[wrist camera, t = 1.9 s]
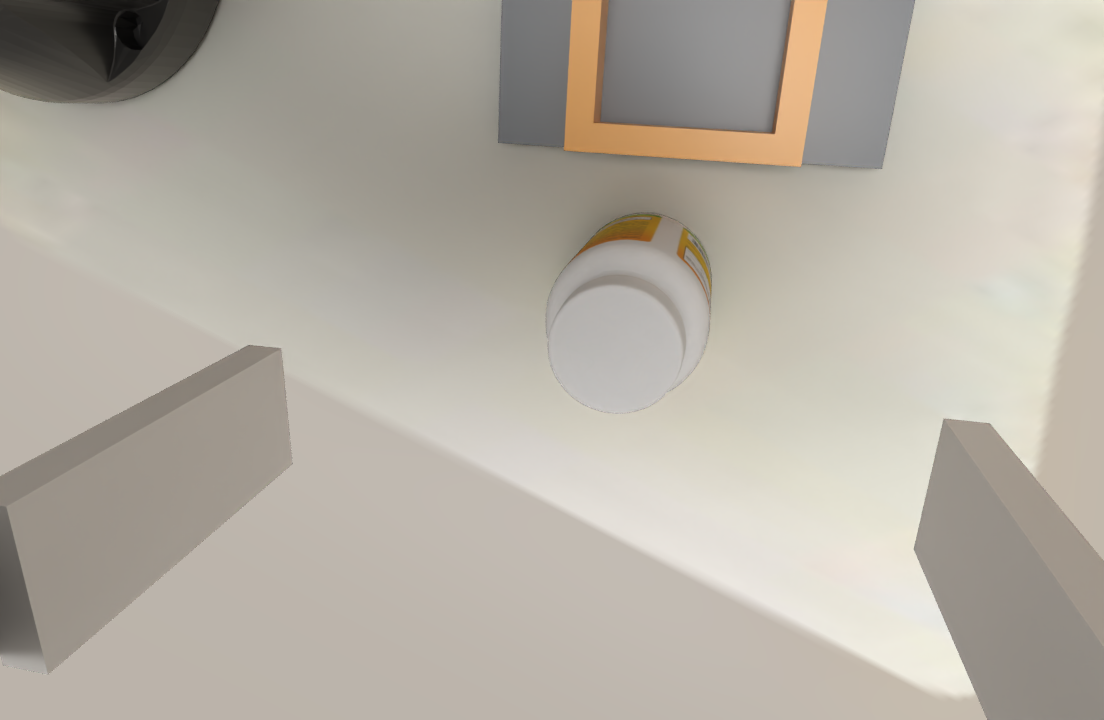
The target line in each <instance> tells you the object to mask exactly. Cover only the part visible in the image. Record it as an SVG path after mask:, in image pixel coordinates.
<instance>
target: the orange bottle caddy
mask: <svg viewBox="0 0 1104 720" xmlns="http://www.w3.org/2000/svg"><path fill="white" fill-rule="evenodd" d="M914 3H915V0H502V15H501V55H500V94H499V133H498V143H508V144H523V145H537V146H552V147H564V151H578V152H592V153H607V154H621V155H636V156H650V157H665V158H679V159H694V160H708V161H723V162H737V163H752V164H766V165H781V166H795V167H801V164H816V165H831V166H845V167H860V168H875V169H882V166H883V161H884V155H885V150H886V145H887V140H888V135H889V130H890V125H891V120H892V115H893V110H894V105H895V99H896V94H897V89H898V84H899V79H900V74H901V69H902V64H903V59H904V54H905V49H906V43H907V38H908V33H909V28H910V23H911V18H912V13H913V8H914Z"/></svg>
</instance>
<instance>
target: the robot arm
mask: <svg viewBox="0 0 1104 720" xmlns="http://www.w3.org/2000/svg"><path fill="white" fill-rule="evenodd" d="M217 3H218V0H0V90H3V91H6V92H8V93H11V94H14V95H17V96H21V97H24V98H29V99H34V100H40V101H45V102H54V103H107V102H116V101H122V100H126V99H129V98H133V97H136V96H138V95H141V94H143V93H145V92H147V91H149V90H151V89H153V88H155V87H156V86H158V85H160V84H161V83H163V82H164V81H165V80H167V79H168V78H169V77H171V76H172V75H173V74H174V73H175V72H176V71H177V70H178V69H179V68H180V67H181V66H182V65H183V64H184V63H185V62H186V61H187V60H188V58H189V57H190V56H191V54H192V53H193V52H194V50H195V49H196V47H197V46H198V44H199V43H200V41H201V39H202V38H203V36H204V34H205V32H206V30H207V28H208V26H209V24H210V22H211V19H212V17H213V14H214V12H215V9H216V6H217ZM291 465H292V455H291V443H290V433H289V423H288V412H287V402H286V391H285V381H284V371H283V360H282V350H281V348H272V347H263V346H253V345H248V346H246V347H244V348H242V349H240V350H238V351H237V352H235V353H233V354H231V355H229V356H227V357H225V358H223V359H222V360H220V361H218V362H216V363H214V364H212V365H210V366H208V367H206V368H204V369H202V370H201V371H199V372H197V373H195V374H193V375H191V376H189V377H187V378H186V379H184V380H182V381H180V382H178V383H176V384H174V385H172V386H170V387H168V388H166V389H165V390H163V391H161V392H159V393H157V394H155V395H153V396H151V397H149V398H148V399H146V400H144V401H142V402H140V403H138V404H136V405H134V406H132V407H130V408H129V409H127V410H125V411H123V412H121V413H119V414H117V415H115V416H113V417H112V418H110V419H108V420H106V421H104V422H102V423H100V424H98V425H96V426H94V427H93V428H91V429H89V430H87V431H85V432H83V433H81V434H79V435H78V436H76V437H74V438H72V439H70V440H68V441H66V442H64V443H62V444H60V445H59V446H57V447H55V448H53V449H51V450H49V451H47V452H45V453H44V454H41V455H40V456H38V457H36V458H34V459H32V460H30V461H28V462H26V463H25V464H23V465H21V466H19V467H17V468H15V469H13V470H11V471H9V472H7V473H5V474H4V475H2V476H0V656H1V660H2V664H3V665H4V666H8V667H14V668H18V669H23V670H28V671H33V672H38V673H42V674H47V675H48V674H49V673H50V672H51V671H53V670H54V669H55V668H56V667H58V666H59V665H60V664H61V663H62V662H63V661H64V660H66V659H67V658H68V657H69V656H70V655H71V654H73V653H74V652H75V651H76V650H77V649H78V648H80V647H81V646H82V645H83V644H84V643H85V642H86V641H88V640H89V639H90V638H91V637H92V636H93V635H95V634H96V633H97V632H98V631H99V630H100V629H102V628H103V627H104V626H105V625H106V624H107V623H109V622H110V621H111V620H112V619H113V618H114V617H115V616H117V615H118V614H119V613H120V612H121V611H123V610H124V609H125V608H126V607H127V606H128V605H129V604H131V603H132V602H133V601H134V600H135V599H136V598H137V597H139V596H140V595H141V594H142V593H143V592H145V591H146V590H147V589H148V588H149V587H150V586H152V585H153V584H154V583H155V582H156V581H157V580H159V579H160V578H161V577H162V576H163V575H164V574H165V573H167V572H168V571H169V570H170V569H171V568H172V567H174V566H175V565H176V564H177V563H178V562H179V561H181V560H182V559H183V558H184V557H185V556H186V555H188V554H189V553H190V552H191V551H192V550H193V549H194V548H196V547H197V546H198V545H199V544H200V543H201V542H203V541H204V540H205V539H206V538H207V537H208V536H210V535H211V534H212V533H213V532H214V531H215V530H217V529H218V528H219V527H220V526H221V525H222V524H223V523H224V522H226V521H227V520H228V519H229V518H230V517H232V516H233V515H234V514H235V513H236V512H237V511H239V510H240V509H241V508H242V507H243V506H244V505H246V504H247V503H248V502H249V501H250V500H251V499H253V498H254V497H255V496H256V495H257V494H258V493H259V492H261V491H262V490H263V489H264V488H265V487H266V486H268V485H269V484H270V483H271V482H272V481H273V480H275V478H277V477H278V476H279V475H280V474H282V473H283V472H284V471H285V470H286V469H287V468H289V467H290V466H291ZM914 551H915V553H916V555H917V558H918V560H919V562H920V565H921V567H922V569H923V572H924V574H925V576H926V579H927V581H928V583H929V586H930V588H931V590H932V593H933V595H934V597H935V600H936V602H937V604H938V606H939V609H940V611H941V613H942V616H943V618H944V620H945V623H946V625H947V627H948V630H949V632H950V634H951V637H952V639H953V641H954V644H955V646H956V648H957V651H958V653H959V655H960V657H961V660H962V662H963V664H964V667H965V669H966V671H967V674H968V676H969V678H970V681H971V683H972V685H973V688H974V690H975V692H976V695H977V697H978V699H979V701H980V704H981V706H982V708H983V711H984V713H985V715H986V718H987V720H1104V561H1103V559H1102V558H1101V557H1100V556H1099V555H1098V553H1097V552H1096V551H1095V550H1094V548H1093V547H1092V546H1091V545H1090V544H1089V542H1088V541H1087V540H1086V539H1085V538H1084V536H1083V535H1082V534H1081V533H1080V532H1079V530H1078V529H1077V528H1076V527H1075V526H1074V524H1073V523H1072V522H1071V521H1070V520H1069V518H1068V517H1067V516H1066V515H1065V514H1064V512H1063V511H1062V510H1061V509H1060V508H1059V506H1058V505H1057V504H1056V503H1055V502H1054V500H1053V499H1052V498H1051V497H1050V495H1049V494H1048V493H1047V492H1046V491H1045V490H1044V488H1043V487H1042V486H1041V485H1040V483H1039V482H1038V481H1037V480H1036V479H1035V477H1034V476H1033V475H1032V474H1031V473H1030V471H1029V470H1028V469H1027V468H1026V467H1025V465H1024V464H1023V463H1022V462H1021V460H1020V459H1019V458H1018V457H1017V456H1016V454H1015V453H1014V452H1013V451H1012V450H1011V448H1010V447H1009V446H1008V445H1007V444H1006V442H1005V441H1004V440H1003V439H1002V438H1001V436H1000V435H999V434H998V433H997V432H996V430H995V429H994V428H993V427H992V426H991V424H990V423H980V422H971V421H962V420H952V419H944V420H943V424H942V428H941V433H940V437H939V441H938V446H937V450H936V454H935V459H934V463H933V467H932V472H931V476H930V480H929V485H928V489H927V494H926V498H925V502H924V507H923V511H922V515H921V520H920V524H919V528H918V533H917V537H916V541H915V546H914Z"/></svg>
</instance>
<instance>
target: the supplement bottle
mask: <svg viewBox="0 0 1104 720" xmlns="http://www.w3.org/2000/svg"><path fill="white" fill-rule="evenodd" d="M711 286H712V279H711V269H710V264H709V260H708V257H707V254H706V252H705V250H704V248H703V246H702V245H701V243H700V242H699V240H698V239H697V238H696V236H695V235H694V234H693V233H692V232H691V231H690V230H689V229H688V228H686V227H685V226H684V225H682V224H681V223H679V222H677V221H676V220H673V219H671V218H669V217H666V216H662V215H658V214H650V213H638V214H631V215H627V216H624V217H621V218H618V219H616V220H614V221H612V222H610V223H609V224H607V225H606V226H604V227H603V228H601V229H600V230H599V231H598V232H597V233H596V234H595V235H594V236H593V237H592V238H591V239H590V240H589V242H588V243H587V244H586V245H585V246H584V247H583V248H582V249H581V250H580V251H579V253H578V254H577V255H576V256H575V257H574V258H573V259H572V260H571V261H570V262H569V263H568V265H567V266H566V267H565V268H564V269H563V271H562V272H561V273H560V275H559V276H558V278H557V280H556V282H555V283H554V285H553V287H552V289H551V292H550V295H549V298H548V302H547V307H546V333H547V338H548V355H549V360H550V364H551V367H552V370H553V372H554V374H555V376H556V378H557V380H558V381H559V383H560V384H561V386H562V387H563V388H564V389H565V390H566V391H567V392H568V393H569V394H570V395H571V396H572V397H573V398H574V399H576V400H577V401H579V402H580V403H582V404H583V405H585V406H587V407H590V408H592V409H595V410H598V411H601V412H607V413H616V414H619V413H630V412H635V411H638V410H641V409H644V408H647V407H649V406H651V405H652V404H654V403H656V402H657V401H658V400H660V399H661V398H662V397H663V396H664V395H665V394H666V393H667V392H669V391H671V390H672V389H674V388H675V387H677V386H678V385H679V384H681V383H682V382H683V381H684V380H685V379H686V378H687V377H688V376H689V375H690V374H691V373H692V371H693V370H694V369H695V367H696V366H697V364H698V363H699V361H700V359H701V357H702V355H703V352H704V350H705V347H706V343H707V339H708V334H709V327H710V308H711Z"/></svg>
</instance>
